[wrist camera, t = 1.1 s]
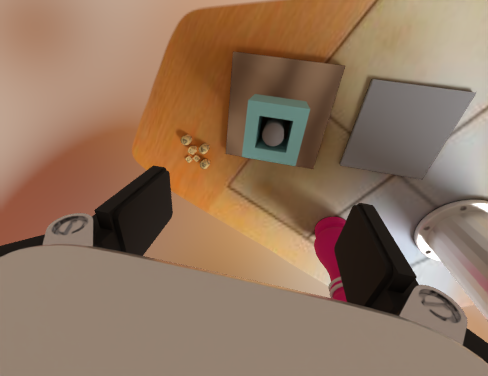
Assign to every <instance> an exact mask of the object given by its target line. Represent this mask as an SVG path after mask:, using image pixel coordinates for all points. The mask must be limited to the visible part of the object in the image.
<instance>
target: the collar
mask: <svg viewBox="0 0 488 376" xmlns="http://www.w3.org/2000/svg"><path fill="white" fill-rule="evenodd" d="M309 112H310V108H309V106H308V104H307V102H306V101H300V100H293V99H286V98H280V97H273V96H266V95H259V94H254V95H253V96H252V97H251V98H250V99H249V100H248V107H247V116H246V124H245V133H244V142H243V151H242V157H246V158H251V159H257V160H263V161H268V162H274V163H280V164H285V165H291V166H296V162H297V158H298V154H299V150H300V147H301V143H302V139H303V135H304V131H305V128H306V124H307V120H308V116H309ZM263 116H265V117H271V118H278V119H284V120H290V125H289V129H288V134H287V138H286V139H283V141H282V142H281V143H280V144H279V145H277V146H269V145H267V144H266V143H265V142H264V141H263V138H262V135H260V131H261V124H262V118H263Z"/></svg>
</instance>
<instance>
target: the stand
mask: <svg viewBox="0 0 488 376" xmlns="http://www.w3.org/2000/svg"><path fill="white" fill-rule="evenodd" d="M344 69H345V66H342V65H335V64H327V63H319V62H311V61H303V60H296V59H288V58H280V57H272V56H265V55H257V54H249V53H241V52H233V60H232V74H231V88H230V102H229V116H228V130H227V144H226V154H230V155H236V156H241V157H242V151H243V142H244V133H245V124H246V116H247V107H248V100H249V99H250V98H251V97H252V96H253V95H254V94H259V95H266V96H273V97H280V98H286V99H293V100H300V101H306V102H307V104H308V106H309V108H310V112H309V116H308V120H307V124H306V128H305V131H304V135H303V139H302V143H301V147H300V150H299V154H298V158H297V162H296V166H298V167H304V168H310V169H313V168H314V165H315V162H316V158H317V155H318V152H319V149H320V146H321V142H322V139H323V136H324V133H325V129H326V126H327V123H328V120H329V117H330V113H331V110H332V107H333V104H334V101H335V97H336V94H337V91H338V88H339V85H340V81H341V78H342V75H343V72H344ZM289 125H290V120H284V119H278V118H271V117H265V116H263V118H262V124H261V131H260V135H262V138H263V141H264V142H265V143H266V144H267V145H269V146H277V145H279V144H280V143H281V142H282V141H283V139H286V138H287V134H288V129H289Z"/></svg>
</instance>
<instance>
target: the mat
mask: <svg viewBox="0 0 488 376" xmlns="http://www.w3.org/2000/svg"><path fill="white" fill-rule="evenodd" d="M475 94H476V93H474V92H467V91H459V90H452V89H444V88H437V87H429V86H422V85H414V84H407V83H399V82H392V81H384V80H377V79H372V80H371V82H370V85H369V88H368V90H367V93H366V95H365V98H364V101H363V103H362V106H361V109H360V111H359V114H358V117H357V119H356V122H355V125H354V127H353V130H352V132H351V135H350V138H349V140H348V143H347V146H346V148H345V151H344V154H343V156H342V159H341V161H340V165H341V166H347V167H352V168H358V169H364V170H370V171H376V172H382V173H387V174H393V175H399V176H405V177H411V178H417V179H423V177H424V176H425V174H426V173H427V171H428V170H429V168H430V166H431V165H432V163H433V162H434V160H435V158H436V157H437V155H438V154H439V152H440V150H441V149H442V147H443V146H444V144H445V142H446V141H447V139H448V138H449V136H450V134H451V133H452V131H453V130H454V128H455V126H456V125H457V123H458V122H459V120H460V118H461V117H462V115H463V114H464V112H465V110H466V109H467V107H468V106H469V104H470V102H471V101H472V99H473V98H474V96H475Z"/></svg>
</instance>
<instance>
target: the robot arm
mask: <svg viewBox="0 0 488 376" xmlns="http://www.w3.org/2000/svg"><path fill="white" fill-rule="evenodd" d="M95 213H96V214H95V215H94V216H92V217H91V216H90V215H88V214H84V213H76V214H70V215H66V216H64V217H61V218H59V219H57V220H55V221H54V222H53V223H51V224H50V225H49V226H48V228H47V230H46V233H45V235H41V236H37V237H33V238H29V239H25V240H22V241H18V242H14V243H10V244H6V245H2V246H0V376H488V343H487V342H485V341H484V340H483V339H481V338H480V337H478V336H477V335H476V334H474V333H473V332H471V331H470V330H469V329H467V317H466V316H465V313H464V311H463V310H462V309H461V308H460V306H459V305H458V304H457V303H456V302H455V301H454V300H453V299H452V298H450V297H449V296H447V295H446V294H445V293H443V292H441V291H439V290H438V289H436V288H433V287H430V286H426V285H419V284H418V282H417V281H416V275H415V273H414V272H413V270H412V268H411V267H410V265H409V264H408V262H407V260H406V259H405V257H404V255H403V254H402V252H401V250H400V249H399V247H398V245H397V244H396V242H395V241H394V239H393V237H392V236H391V234H390V232H389V231H388V229H387V227H386V226H385V224H384V222H383V221H382V219H381V218H380V216H379V214H378V213H377V211H376V209H375V208H374V206H373V205H368V204H363V203H358V204H357V205H354V206H353V207H352V209H351V211H350V214H349V216H348V218H347V220H346V222H345V224H344V227H343V229H342V231H341V233H340V235H339V237H338V240H337V242H336V244H335V247H334V252H335V256H336V260H337V264H338V268H339V272H340V276H341V280H342V284H343V288H344V292H345V296H346V300H347V302H344V301H340V300H336V299H332V298H327V297H323V296H319V295H314V294H310V293H306V292H301V291H297V290H293V289H288V288H284V287H279V286H275V285H271V284H266V283H262V282H258V281H253V280H249V279H244V278H240V277H236V276H231V275H227V274H222V273H218V272H213V271H209V270H204V269H199V268H195V267H191V266H186V265H182V264H177V263H172V262H167V261H163V260H159V259H154V258H149V257H145V256H143V255H144V253H145V252H146V251H147V249H148V248H149V247H150V245H151V244H152V243H153V241H154V240H155V239H156V237H157V236H158V235H159V233H160V232H161V231H162V229H163V228H164V227H165V225H166V224H167V223H168V222H169V220H170V219H171V217H172V213H173V211H172V200H171V188H170V176H169V172H168V171H166V168H164V167H158V166H152V167H151V168H149V169H148V170H147V171H146V172H145V173H143V174H142V175H141V176H139V177H138V178H136V179H135V180H134V181H132V182H131V183H130V184H128V185H127V186H126V187H124V188H123V189H122V190H120V191H119V192H118V193H117V194H115V195H114V196H113V197H111V198H110V199H109V200H107V201H106V202H105V203H103V204H102V205H101V206H99V207H98V208H97V209H95ZM414 241H415V243H416V246H417V247H418V248H419V250H420V251H421V252H422V253H423V254H424V255H426V256H428V257H429V258H432V259H434V260H438V261H441V262H442V263H443V265H444V266H445V267H446V268H447V270H448V271H449V272H450V273H451V275H452V276H453V277H454V279H455V280H456V281H457V282H458V284H459V285H460V286H461V288H462V289H463V290H464V291H465V293H466V294H467V295H468V297H469V298H470V299H471V300H472V302H473V303H474V304H475V306H476V307H477V308H478V309H479V311H480V312H481V313H482V315H483V316H484V317H485V318H486V320H487V321H488V201H485V200H462V201H458V202H453V203H450V204H447V205H444V206H442V207H440V208H438V209H436V210H434V211H432V212H431V213H429V214H428V215H427V216H426V217H425V218H423V219H422V220H421V222H420V223H419V224H418V226H417V228H416V230H415V234H414Z"/></svg>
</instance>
